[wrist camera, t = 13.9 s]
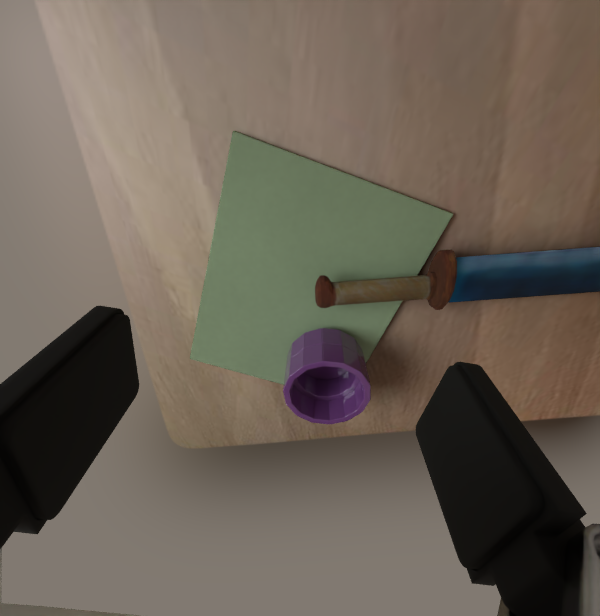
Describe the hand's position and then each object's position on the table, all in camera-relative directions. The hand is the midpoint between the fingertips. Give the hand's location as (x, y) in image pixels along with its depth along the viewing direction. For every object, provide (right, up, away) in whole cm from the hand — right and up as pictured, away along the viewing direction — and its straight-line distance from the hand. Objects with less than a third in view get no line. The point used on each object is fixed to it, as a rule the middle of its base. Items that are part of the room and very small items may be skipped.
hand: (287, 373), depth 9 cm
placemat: (+1, +3, +16) cm, 17 cm away
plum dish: (+3, -2, +19) cm, 19 cm away
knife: (+14, +5, +15) cm, 21 cm away
